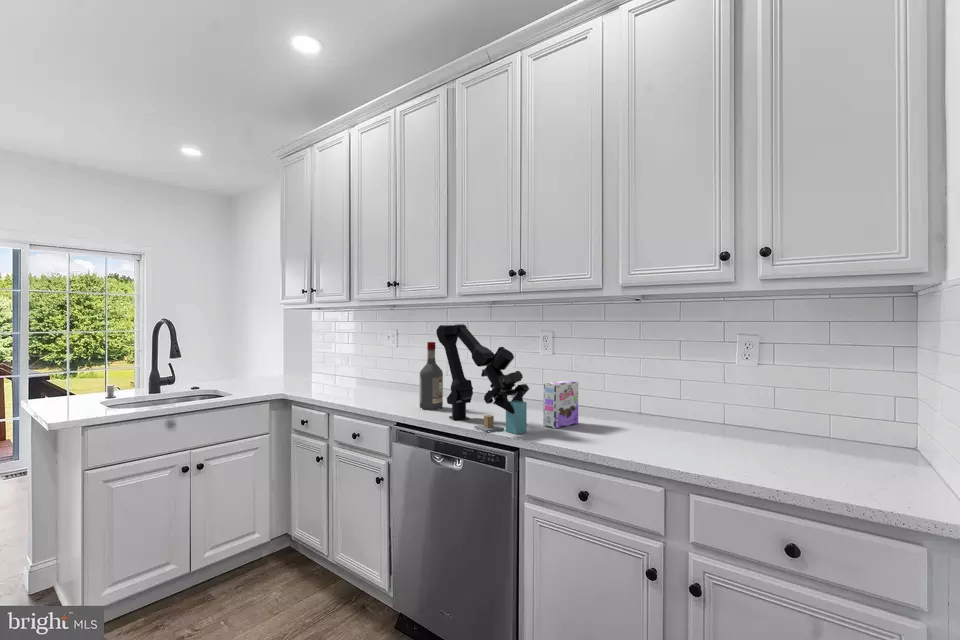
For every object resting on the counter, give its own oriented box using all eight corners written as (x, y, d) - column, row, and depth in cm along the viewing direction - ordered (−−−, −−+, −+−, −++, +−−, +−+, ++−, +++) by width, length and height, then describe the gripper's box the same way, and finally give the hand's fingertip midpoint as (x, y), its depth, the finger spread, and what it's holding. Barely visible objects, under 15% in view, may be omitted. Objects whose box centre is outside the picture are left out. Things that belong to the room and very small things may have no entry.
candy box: (554, 429, 172) (554, 384, 172) (542, 426, 176) (542, 382, 176) (578, 424, 180) (578, 381, 180) (567, 421, 185) (566, 379, 185)
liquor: (417, 409, 211) (417, 342, 211) (426, 405, 219) (426, 341, 220) (436, 410, 208) (436, 342, 208) (444, 406, 217) (444, 341, 217)
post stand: (473, 428, 173) (473, 415, 173) (491, 425, 177) (491, 413, 177) (485, 432, 166) (485, 419, 166) (504, 429, 170) (504, 416, 170)
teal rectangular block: (505, 431, 167) (505, 401, 167) (515, 429, 171) (515, 400, 171) (516, 434, 163) (516, 403, 163) (526, 431, 167) (526, 402, 167)
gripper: (489, 365, 164) (512, 401, 155) (525, 362, 176) (548, 395, 168) (474, 385, 169) (495, 421, 161) (510, 381, 182) (531, 414, 174)
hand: (519, 412), depth 166 cm, fingers closed on teal rectangular block, 5 cm apart
